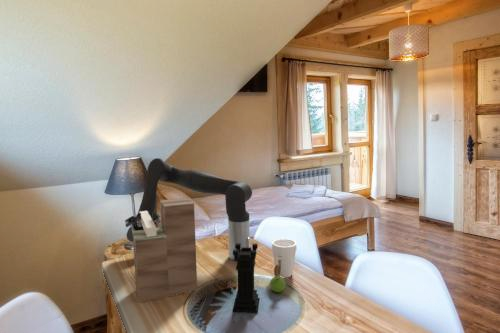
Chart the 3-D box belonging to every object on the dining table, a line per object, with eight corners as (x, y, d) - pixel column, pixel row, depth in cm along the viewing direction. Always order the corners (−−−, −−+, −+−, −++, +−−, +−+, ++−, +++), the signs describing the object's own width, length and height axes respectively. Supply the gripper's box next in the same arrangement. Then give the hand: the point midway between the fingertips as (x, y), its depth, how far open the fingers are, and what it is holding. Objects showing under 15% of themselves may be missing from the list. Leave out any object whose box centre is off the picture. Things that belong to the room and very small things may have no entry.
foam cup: (269, 278, 134) (269, 245, 132) (275, 268, 143) (275, 237, 141) (293, 281, 131) (293, 248, 129) (298, 271, 139) (298, 240, 138)
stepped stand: (136, 289, 126) (130, 203, 122) (190, 279, 134) (187, 197, 130) (139, 302, 117) (133, 210, 113) (197, 290, 125) (194, 203, 121)
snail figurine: (287, 287, 126) (287, 256, 125) (283, 296, 120) (283, 263, 119) (273, 285, 128) (272, 254, 126) (268, 293, 122) (268, 261, 120)
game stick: (139, 219, 133) (139, 211, 132) (147, 218, 134) (147, 210, 134) (147, 237, 113) (146, 228, 112) (156, 235, 114) (156, 226, 114)
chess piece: (259, 300, 118) (258, 243, 115) (257, 313, 110) (256, 252, 107) (236, 299, 119) (234, 242, 116) (232, 312, 111) (231, 251, 108)
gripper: (122, 219, 141) (123, 207, 126) (158, 215, 147) (163, 202, 132) (124, 237, 139) (125, 227, 124) (160, 232, 144) (165, 222, 129)
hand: (145, 214), depth 128 cm, fingers closed on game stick, 3 cm apart
